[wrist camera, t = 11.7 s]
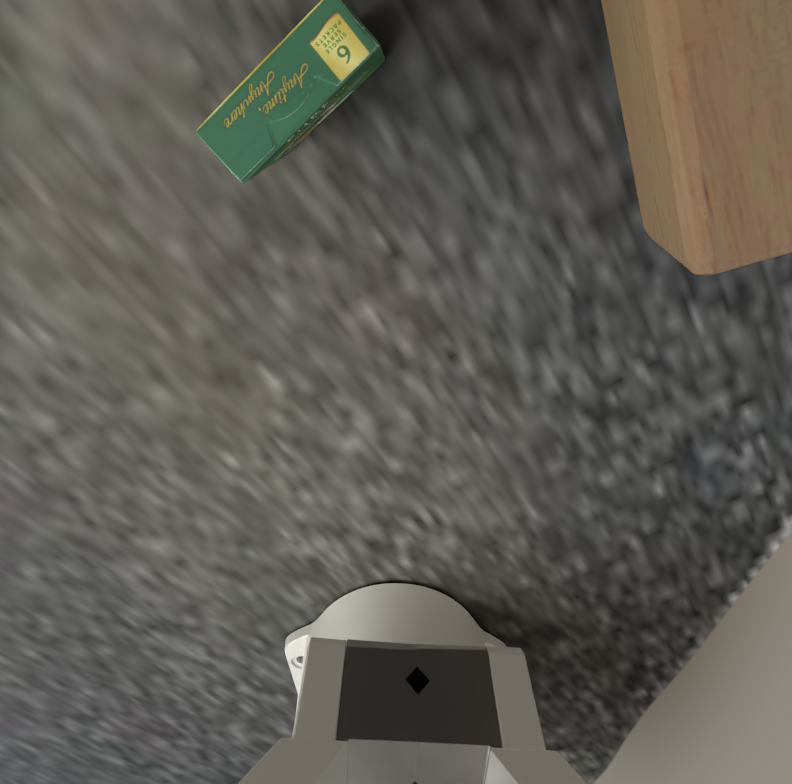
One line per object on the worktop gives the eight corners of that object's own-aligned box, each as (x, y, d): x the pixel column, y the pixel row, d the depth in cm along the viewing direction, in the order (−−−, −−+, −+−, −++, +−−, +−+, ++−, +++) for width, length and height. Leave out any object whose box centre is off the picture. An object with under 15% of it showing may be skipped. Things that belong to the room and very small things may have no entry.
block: (927, 222, 30) (920, -361, 22) (695, 287, 32) (614, -223, 24) (817, 187, 39) (784, -234, 31) (642, 240, 41) (570, -142, 33)
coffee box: (357, 11, 36) (332, -19, 24) (391, 57, 37) (384, 49, 25) (253, 116, 38) (185, 135, 26) (288, 156, 39) (237, 191, 27)
